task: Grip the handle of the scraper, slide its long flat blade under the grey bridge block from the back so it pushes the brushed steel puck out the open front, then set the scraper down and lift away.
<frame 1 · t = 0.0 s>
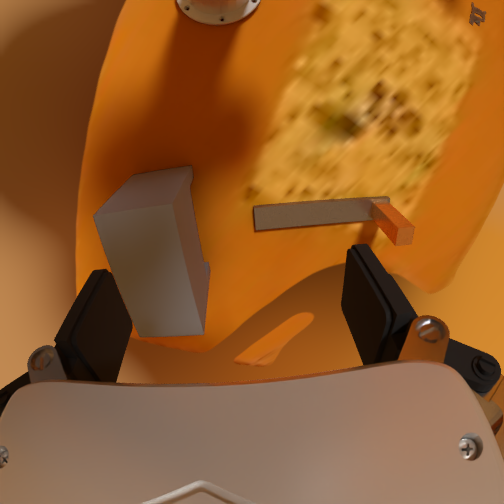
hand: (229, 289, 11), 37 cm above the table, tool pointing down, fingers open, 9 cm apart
hand saw: (468, 46, 34), on the table
grey bridge block: (172, 225, 50), on the table
scraper: (376, 206, 50), on the table
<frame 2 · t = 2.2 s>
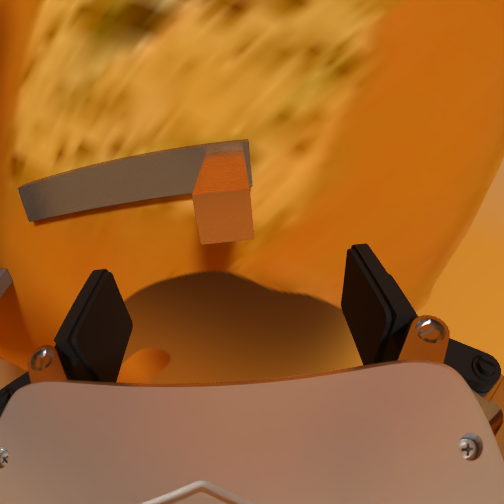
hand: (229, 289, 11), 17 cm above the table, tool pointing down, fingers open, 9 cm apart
scraper: (226, 163, 25), on the table
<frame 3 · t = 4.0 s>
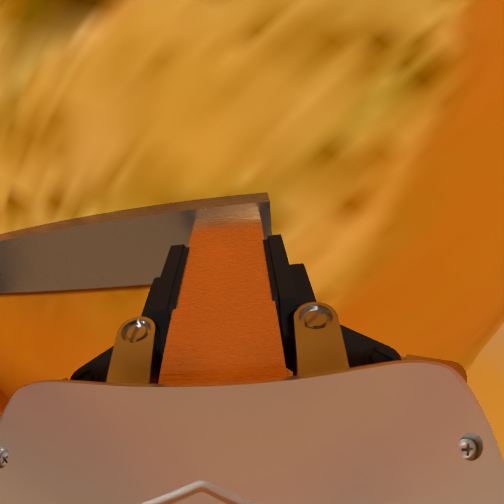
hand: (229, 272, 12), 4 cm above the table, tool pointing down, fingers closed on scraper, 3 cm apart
scraper: (231, 232, 16), on the table, touching gripper
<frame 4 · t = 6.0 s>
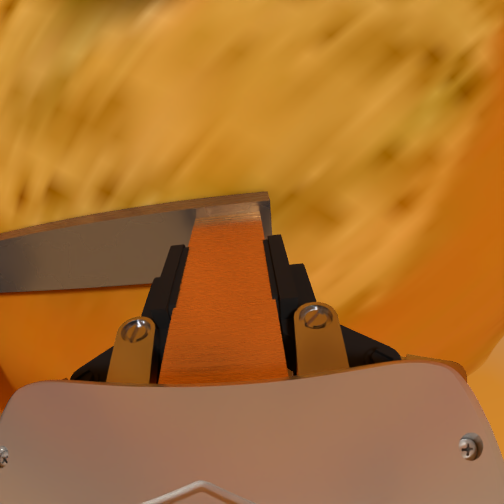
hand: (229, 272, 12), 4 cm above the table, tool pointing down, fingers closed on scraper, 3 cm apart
scraper: (231, 231, 16), on the table, touching gripper
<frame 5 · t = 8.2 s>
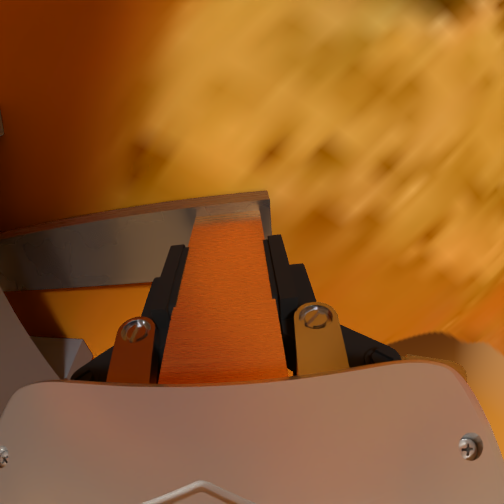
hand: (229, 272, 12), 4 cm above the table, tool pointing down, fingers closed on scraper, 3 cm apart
scraper: (231, 230, 16), on the table, touching gripper, steel puck
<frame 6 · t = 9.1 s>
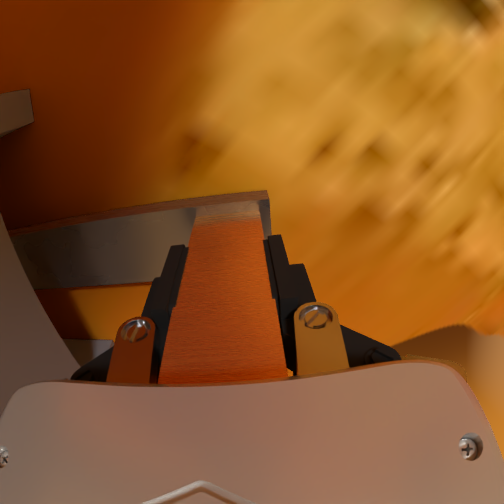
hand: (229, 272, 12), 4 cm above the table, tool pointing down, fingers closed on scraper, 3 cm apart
grey bridge block: (18, 255, 16), on the table
scraper: (231, 229, 16), on the table, touching gripper, steel puck
when the fingers open (5 cm above the table, at t = 12.3 s): scraper drops 1 cm, on the table.
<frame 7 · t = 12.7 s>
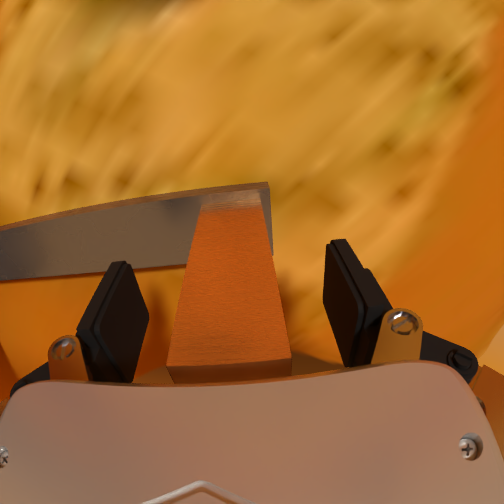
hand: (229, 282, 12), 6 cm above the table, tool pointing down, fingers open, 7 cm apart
scraper: (234, 217, 17), on the table
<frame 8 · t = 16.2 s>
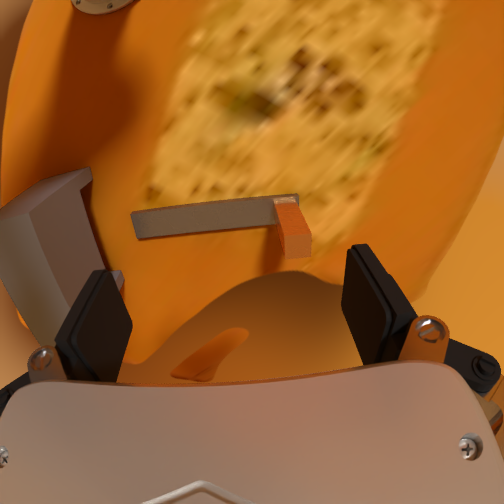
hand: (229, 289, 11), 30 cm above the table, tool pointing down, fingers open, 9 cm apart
grey bridge block: (81, 231, 42), on the table
scraper: (283, 207, 43), on the table
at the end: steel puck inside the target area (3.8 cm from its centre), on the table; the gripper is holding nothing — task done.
